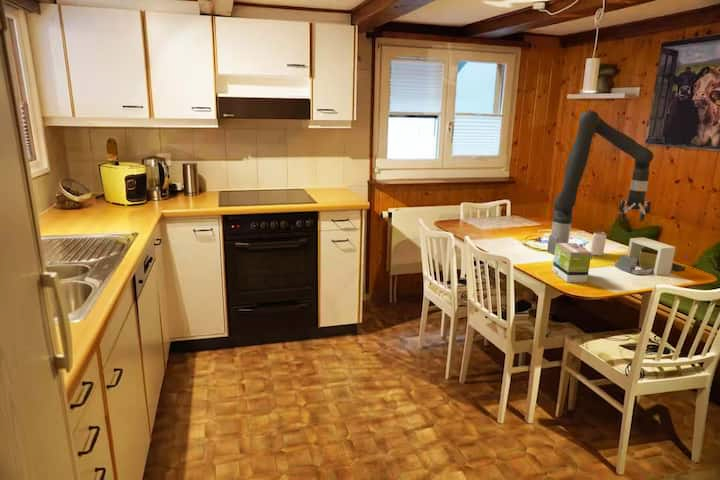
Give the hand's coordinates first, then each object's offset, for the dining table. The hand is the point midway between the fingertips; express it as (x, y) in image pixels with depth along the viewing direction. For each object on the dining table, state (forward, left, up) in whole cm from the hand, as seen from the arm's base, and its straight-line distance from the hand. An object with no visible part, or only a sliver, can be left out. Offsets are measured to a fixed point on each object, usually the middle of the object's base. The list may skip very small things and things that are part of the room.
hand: (632, 220), depth 248 cm
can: (-5, +14, -22) cm, 27 cm away
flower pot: (+2, -12, -22) cm, 25 cm away
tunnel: (+2, -12, -22) cm, 25 cm away
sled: (-1, -12, -21) cm, 25 cm away
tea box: (-47, -13, -22) cm, 53 cm away
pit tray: (+16, -12, -22) cm, 30 cm away
